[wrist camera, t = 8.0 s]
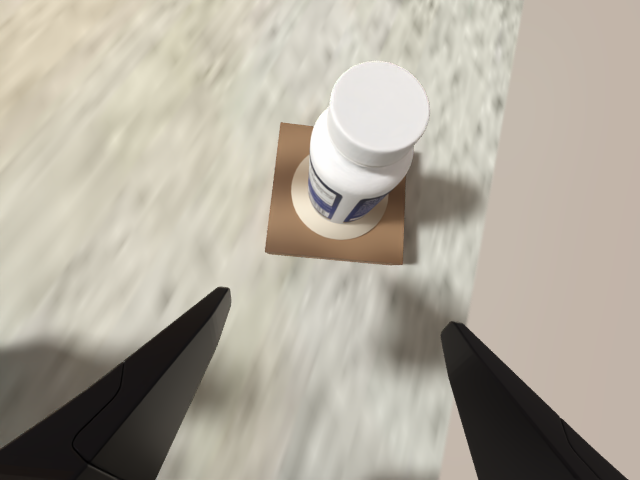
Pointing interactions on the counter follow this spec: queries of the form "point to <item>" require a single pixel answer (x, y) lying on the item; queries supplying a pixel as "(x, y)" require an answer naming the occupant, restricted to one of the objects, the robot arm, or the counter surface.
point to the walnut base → (318, 233)
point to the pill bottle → (365, 139)
